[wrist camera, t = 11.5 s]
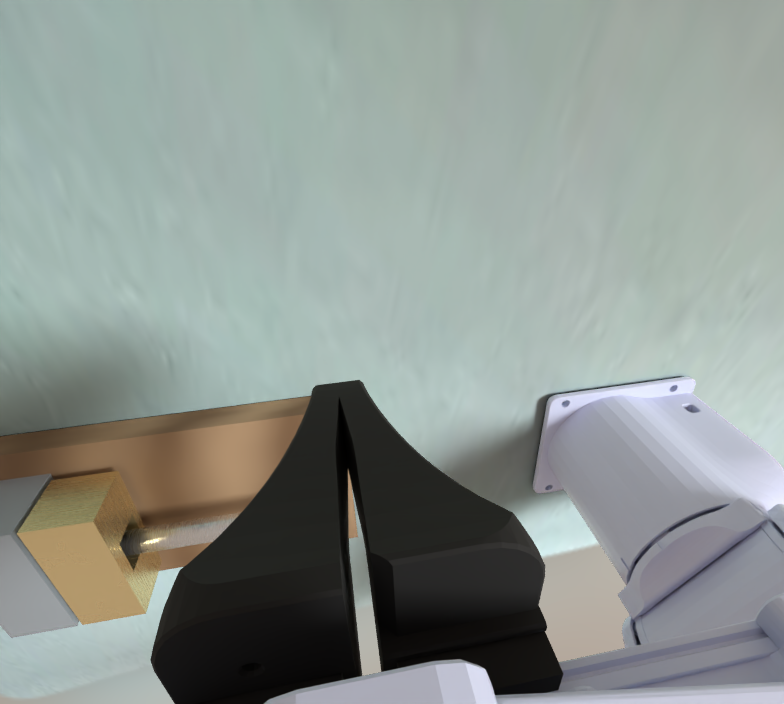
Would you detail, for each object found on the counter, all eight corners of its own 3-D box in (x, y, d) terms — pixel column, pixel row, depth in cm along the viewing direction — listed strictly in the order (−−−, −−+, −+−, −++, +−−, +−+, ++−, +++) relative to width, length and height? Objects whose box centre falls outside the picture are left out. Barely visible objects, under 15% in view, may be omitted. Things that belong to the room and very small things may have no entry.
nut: (118, 470, 22) (93, 521, 19) (161, 560, 25) (145, 613, 23) (51, 480, 21) (16, 533, 19) (105, 570, 25) (82, 624, 22)
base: (339, 392, 24) (347, 457, 20) (355, 517, 29) (364, 590, 25) (-30, 440, 22) (-112, 525, 17) (57, 566, 27) (10, 656, 23)
